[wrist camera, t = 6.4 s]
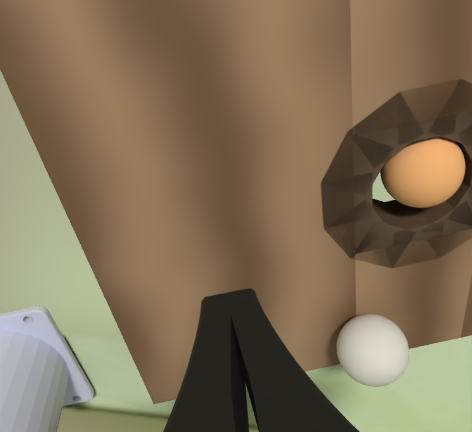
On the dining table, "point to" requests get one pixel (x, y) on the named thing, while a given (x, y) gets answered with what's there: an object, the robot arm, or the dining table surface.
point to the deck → (251, 161)
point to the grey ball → (372, 350)
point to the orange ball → (424, 172)
